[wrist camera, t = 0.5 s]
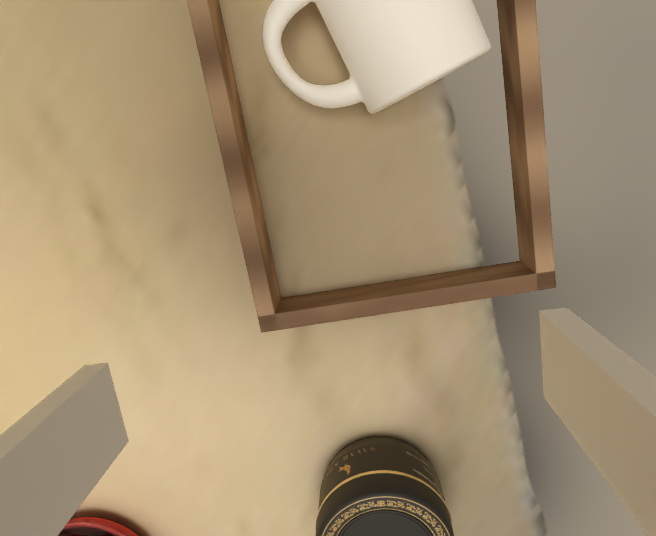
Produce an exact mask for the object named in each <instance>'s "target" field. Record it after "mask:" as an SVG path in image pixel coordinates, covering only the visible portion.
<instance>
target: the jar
mask: <svg viewBox="0 0 656 536" xmlns="http://www.w3.org/2000/svg"><path fill="white" fill-rule="evenodd" d="M316 536H454V534H453V526H452V519H451V516H450V512H449V509H448V507H447V505H446V503H445V500H444V496H443V492H442V488H441V485H440V481H439V479H438V476H437V474H436V472H435V471H434V469H433V468H432V466H431V465H430V463H429V462H428V461H427V459H426V458H425V457H424V456H423V455H422V454H421V453H420V452H419V451H418V450H417V449H416V448H414V447H413V446H411V445H409V444H407V443H405V442H403V441H400V440H397V439H393V438H387V437H372V438H366V439H362V440H359V441H356V442H354V443H352V444H350V445H348V446H347V447H345V448H344V449H343V450H341V451H340V452H339V453H338V454H337V455H336V456H335V458H334V459H333V460H332V462H331V464H330V465H329V467H328V469H327V471H326V473H325V475H324V478H323V481H322V484H321V490H320V499H319V510H318V515H317V521H316Z"/></svg>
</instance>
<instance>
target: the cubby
mask: <svg viewBox="0 0 656 536" xmlns="http://www.w3.org/2000/svg"><path fill="white" fill-rule="evenodd" d="M187 3H188V7H189V11H190V16H191V20H192V25H193V29H194V34H195V38H196V43H197V47H198V52H199V56H200V61H201V65H202V69H203V74H204V78H205V83H206V87H207V92H208V96H209V101H210V105H211V110H212V114H213V119H214V123H215V128H216V132H217V136H218V141H219V145H220V150H221V154H222V159H223V163H224V168H225V172H226V177H227V181H228V186H229V190H230V195H231V199H232V203H233V208H234V212H235V217H236V221H237V226H238V230H239V235H240V239H241V244H242V248H243V253H244V257H245V262H246V266H247V270H248V275H249V279H250V284H251V288H252V293H253V297H254V302H255V306H256V311H257V315H258V320H259V324H260V328H261V332H268V331H274V330H281V329H288V328H294V327H301V326H307V325H314V324H320V323H327V322H334V321H340V320H347V319H353V318H360V317H366V316H373V315H380V314H386V313H393V312H399V311H406V310H412V309H419V308H426V307H432V306H439V305H445V304H452V303H458V302H465V301H472V300H478V299H485V298H491V297H498V296H504V295H511V294H517V293H524V292H531V291H537V290H544V289H550V288H556V280H555V266H554V253H553V238H552V224H551V211H550V197H549V183H548V168H547V154H546V140H545V126H544V112H543V99H542V84H541V70H540V56H539V43H538V28H537V15H536V0H497V8H498V19H499V29H500V42H501V53H502V64H503V76H504V87H505V97H506V110H507V121H508V132H509V144H510V155H511V166H512V178H513V189H514V200H515V212H516V223H517V234H518V245H519V256H520V261H516V262H510V263H504V264H497V265H491V266H485V267H478V268H472V269H466V270H459V271H453V272H447V273H440V274H434V275H427V276H421V277H415V278H408V279H402V280H396V281H389V282H383V283H377V284H370V285H364V286H358V287H351V288H345V289H339V290H332V291H326V292H320V293H313V294H307V295H301V296H294V297H288V298H282V299H281V296H280V291H279V286H278V281H277V277H276V272H275V267H274V262H273V257H272V253H271V248H270V243H269V238H268V234H267V229H266V224H265V219H264V215H263V210H262V205H261V200H260V196H259V191H258V186H257V181H256V177H255V172H254V167H253V162H252V158H251V153H250V148H249V143H248V139H247V134H246V129H245V124H244V120H243V115H242V110H241V105H240V100H239V96H238V91H237V86H236V81H235V77H234V72H233V67H232V62H231V58H230V53H229V48H228V43H227V39H226V34H225V29H224V24H223V20H222V15H221V10H220V5H219V1H218V0H187Z"/></svg>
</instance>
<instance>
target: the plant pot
mask: <svg viewBox="0 0 656 536" xmlns="http://www.w3.org/2000/svg"><path fill="white" fill-rule="evenodd" d="M58 536H138V535H137V534H135V533H134V532H133V531H131V530H130V529H128V528H127V527H125V526H123V525H121V524H118V523H116V522H113V521H110V520H107V519H103V518H96V517H80V518H75V519H70V520H69V521H68V523H67V524H66V525H65V527H64V528H63V529H62V531H61V532H60V533H59V535H58Z"/></svg>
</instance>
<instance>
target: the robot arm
mask: <svg viewBox="0 0 656 536" xmlns="http://www.w3.org/2000/svg"><path fill="white" fill-rule="evenodd" d="M539 313H540V314H539V315H540V334H541V351H542V352H541V353H542V371H543V390H544V398H545V399H546V400H547V402H548V403H549V404H550V406H551V407H552V408H553V410H554V411H555V412H556V414H557V415H558V416H559V418H560V419H561V421H562V422H563V423H564V424H565V426H566V427H567V429H568V430H569V431H570V432H571V434H572V435H573V437H574V438H575V439H576V441H577V442H578V443H579V445H580V446H581V447H582V449H583V450H584V451H585V453H586V454H587V455H588V457H589V458H590V459H591V461H592V462H593V463H594V465H595V466H596V467H597V469H598V470H599V471H600V473H601V474H602V475H603V477H604V478H605V479H606V481H607V482H608V483H609V485H610V486H611V488H612V489H613V490H614V491H615V493H616V494H617V496H618V497H619V498H620V500H621V501H622V502H623V504H624V505H625V506H626V508H627V509H628V510H629V511H630V513H631V514H632V516H633V517H634V518H635V520H636V521H637V522H638V524H639V525H640V526H641V528H642V529H643V531H644V532H645V533H646V534H647V536H656V377H655V376H653V375H652V374H651V373H649V372H648V371H647V370H646V369H644V368H643V367H642V366H641V365H639V364H638V363H637V362H635V361H634V360H633V359H632V358H630V357H629V356H628V355H627V354H625V353H624V352H623V351H621V350H620V349H619V348H617V347H616V346H615V345H614V344H612V343H611V342H610V341H609V340H607V339H606V338H605V337H603V336H602V335H601V334H599V333H598V332H597V331H596V330H594V329H593V328H592V327H591V326H589V325H588V324H586V322H584V321H583V320H582V319H580V318H579V317H578V316H576V315H575V314H574V313H573V312H571V311H570V310H569V309H567V308H559V309H551V310H542V311H539ZM127 443H128V437H127V433H126V430H125V426H124V422H123V418H122V415H121V411H120V407H119V403H118V400H117V396H116V392H115V388H114V385H113V381H112V377H111V373H110V370H109V366H108V363H102V364H93V365H85V366H83V367H82V368H81V369H80V370H78V371H77V372H76V373H75V374H74V375H72V376H71V377H70V378H69V379H68V380H66V381H65V382H64V383H63V384H62V385H60V386H59V387H58V388H57V389H56V390H54V391H53V392H52V393H51V394H50V395H48V396H47V397H46V398H45V399H44V400H42V401H41V402H40V403H39V404H38V405H36V406H35V407H34V408H33V409H32V410H30V411H29V412H28V413H27V414H26V415H24V416H23V417H22V418H21V419H20V420H18V421H17V422H16V423H15V424H14V425H12V426H11V427H10V428H9V429H8V430H6V431H5V432H4V433H3V434H1V435H0V536H58V535H59V533H60V532H61V531H62V529H63V528H64V527H65V525H66V524H67V523H68V521H69V520H70V519H71V517H72V516H73V515H74V513H75V512H76V511H77V509H78V508H79V507H80V505H81V504H82V503H83V501H84V500H85V499H86V497H87V496H88V495H89V493H90V492H91V491H92V489H93V488H94V487H95V485H96V484H97V483H98V481H99V480H100V479H101V477H102V476H103V475H104V473H105V472H106V471H107V469H108V468H109V467H110V465H111V464H112V463H113V461H114V460H115V459H116V457H117V456H118V455H119V453H120V452H121V451H122V449H123V448H124V447H125V445H126V444H127Z"/></svg>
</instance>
